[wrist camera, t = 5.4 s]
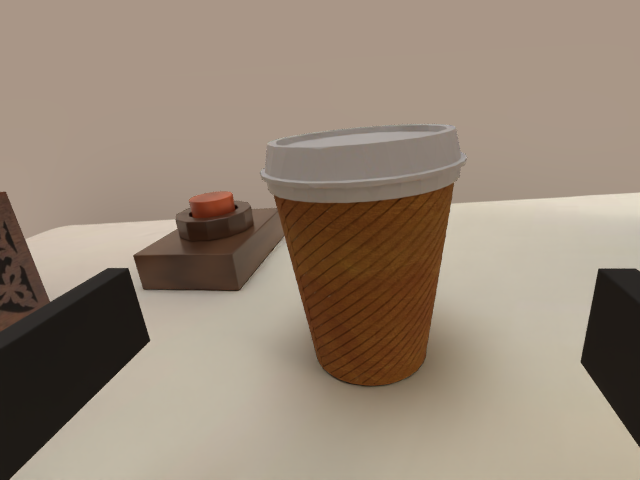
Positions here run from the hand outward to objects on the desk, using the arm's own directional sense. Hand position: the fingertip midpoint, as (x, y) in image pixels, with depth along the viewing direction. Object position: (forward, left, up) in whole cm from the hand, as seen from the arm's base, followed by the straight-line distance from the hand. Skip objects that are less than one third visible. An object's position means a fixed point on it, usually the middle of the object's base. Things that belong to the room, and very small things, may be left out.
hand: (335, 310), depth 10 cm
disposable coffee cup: (0, -9, -8) cm, 12 cm away
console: (+15, -22, -8) cm, 28 cm away
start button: (+15, -22, -3) cm, 27 cm away
